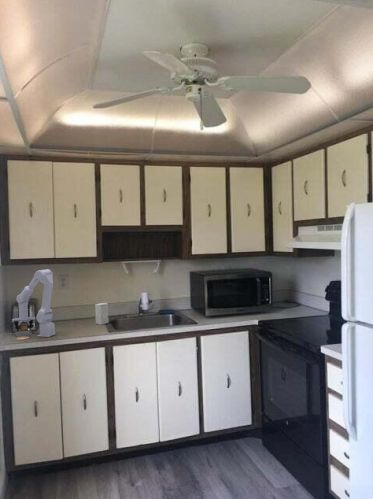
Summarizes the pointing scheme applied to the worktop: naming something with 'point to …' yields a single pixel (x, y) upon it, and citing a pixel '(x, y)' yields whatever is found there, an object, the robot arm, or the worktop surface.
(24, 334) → the low wall
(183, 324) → the worktop surface
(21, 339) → the coaster
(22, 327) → the walnut cylinder
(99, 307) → the skincare box
